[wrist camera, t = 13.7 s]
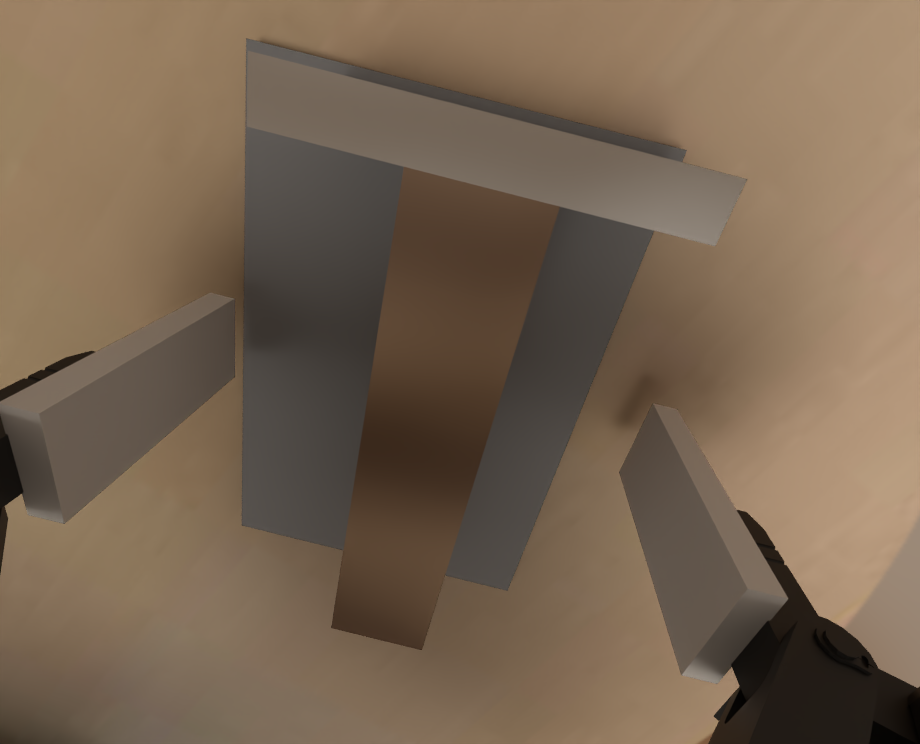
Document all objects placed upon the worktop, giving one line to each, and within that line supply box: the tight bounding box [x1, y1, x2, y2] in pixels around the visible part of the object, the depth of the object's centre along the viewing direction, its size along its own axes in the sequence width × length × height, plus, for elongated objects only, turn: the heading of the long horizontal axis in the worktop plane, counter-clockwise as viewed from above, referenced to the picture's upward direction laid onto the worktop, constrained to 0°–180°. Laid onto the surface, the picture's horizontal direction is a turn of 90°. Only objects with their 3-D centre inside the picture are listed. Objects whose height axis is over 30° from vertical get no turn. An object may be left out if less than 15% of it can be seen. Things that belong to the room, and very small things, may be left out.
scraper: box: [247, 51, 747, 650], centre depth 14 cm, size 15×9×5 cm, turn 167°
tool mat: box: [242, 38, 687, 591], centre depth 17 cm, size 18×12×1 cm, turn 168°
